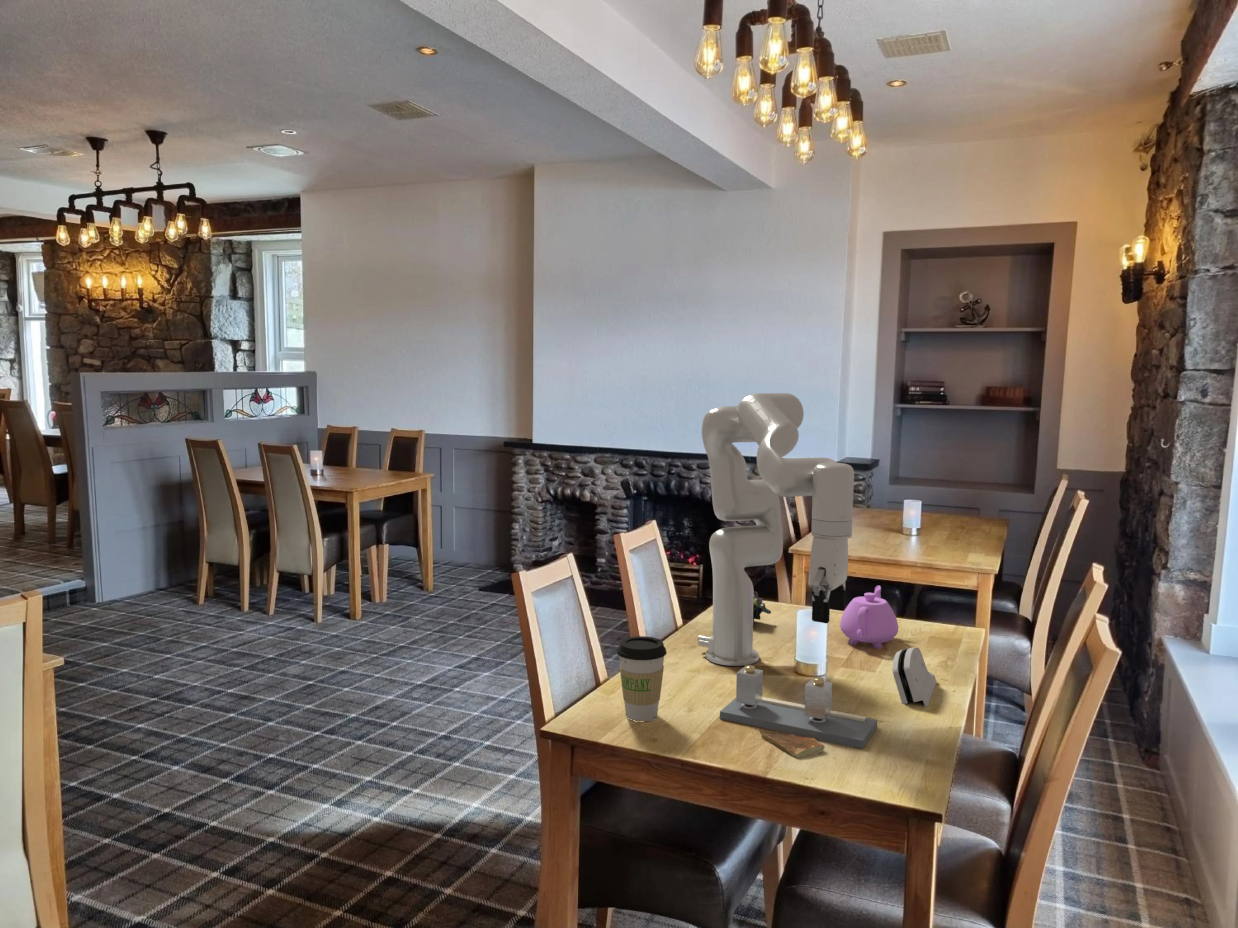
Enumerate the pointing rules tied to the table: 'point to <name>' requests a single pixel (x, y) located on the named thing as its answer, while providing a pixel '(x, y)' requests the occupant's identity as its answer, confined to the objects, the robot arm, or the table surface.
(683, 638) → the table surface
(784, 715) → the hole plate
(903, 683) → the grey layered slab
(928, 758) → the table surface
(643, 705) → the coffee cup
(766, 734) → the shard
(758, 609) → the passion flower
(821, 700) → the block
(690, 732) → the table surface
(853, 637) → the teapot
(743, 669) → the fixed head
